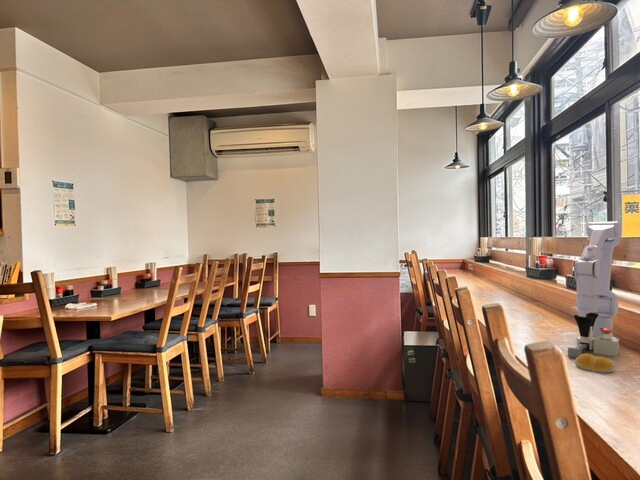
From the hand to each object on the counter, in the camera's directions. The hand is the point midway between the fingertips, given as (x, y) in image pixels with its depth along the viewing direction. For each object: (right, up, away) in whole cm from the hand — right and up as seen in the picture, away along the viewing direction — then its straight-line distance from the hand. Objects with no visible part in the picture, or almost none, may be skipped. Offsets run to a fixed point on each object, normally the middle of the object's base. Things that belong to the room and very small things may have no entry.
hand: (586, 335), depth 138 cm
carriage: (0, -4, 0) cm, 4 cm away
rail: (-4, -4, -4) cm, 7 cm away
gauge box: (+3, -4, -6) cm, 8 cm away
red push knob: (+3, -2, -6) cm, 7 cm away
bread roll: (-12, -5, -22) cm, 26 cm away
